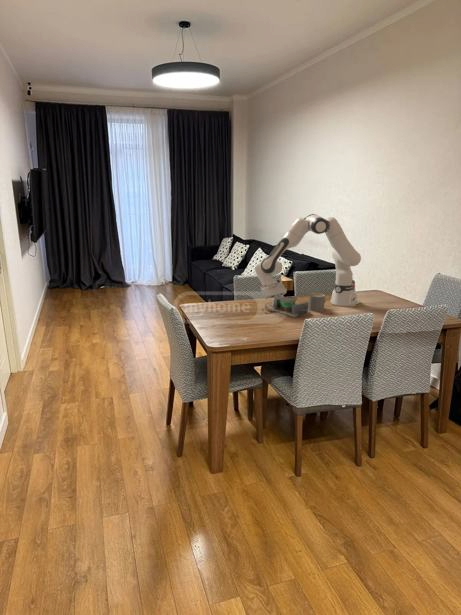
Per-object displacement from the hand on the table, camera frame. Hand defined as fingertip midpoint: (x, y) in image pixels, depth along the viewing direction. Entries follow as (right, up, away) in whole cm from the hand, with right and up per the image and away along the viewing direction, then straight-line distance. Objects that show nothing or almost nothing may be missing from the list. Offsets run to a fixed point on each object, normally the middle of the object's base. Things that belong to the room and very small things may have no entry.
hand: (280, 301), depth 293 cm
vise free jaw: (+1, -3, -1) cm, 4 cm away
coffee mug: (+26, -5, +2) cm, 26 cm away
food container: (+4, -7, -6) cm, 10 cm away
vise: (+5, -6, -4) cm, 9 cm away
